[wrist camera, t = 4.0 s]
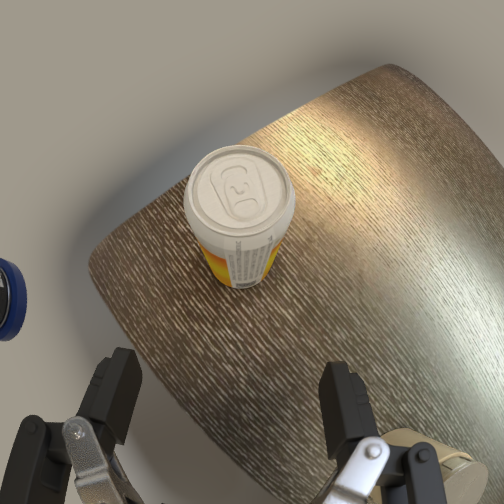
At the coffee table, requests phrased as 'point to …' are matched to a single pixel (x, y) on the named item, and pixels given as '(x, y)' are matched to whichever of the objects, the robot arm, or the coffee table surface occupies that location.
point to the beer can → (239, 212)
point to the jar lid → (463, 480)
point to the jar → (408, 439)
